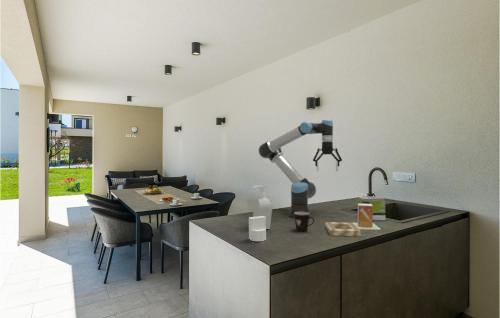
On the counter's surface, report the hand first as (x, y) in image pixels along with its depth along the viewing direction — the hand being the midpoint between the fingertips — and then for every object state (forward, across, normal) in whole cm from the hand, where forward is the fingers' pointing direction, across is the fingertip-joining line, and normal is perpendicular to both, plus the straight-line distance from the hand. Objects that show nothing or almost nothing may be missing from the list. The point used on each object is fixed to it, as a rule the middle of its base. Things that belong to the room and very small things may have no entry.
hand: (327, 171), depth 204 cm
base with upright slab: (+32, -45, -62) cm, 83 cm away
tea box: (+32, +28, -9) cm, 43 cm away
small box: (+31, +18, -30) cm, 47 cm away
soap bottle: (+32, -45, -40) cm, 68 cm away
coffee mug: (+32, -20, -43) cm, 57 cm away
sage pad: (+32, +18, -30) cm, 47 cm away
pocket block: (+32, +2, -42) cm, 53 cm away
